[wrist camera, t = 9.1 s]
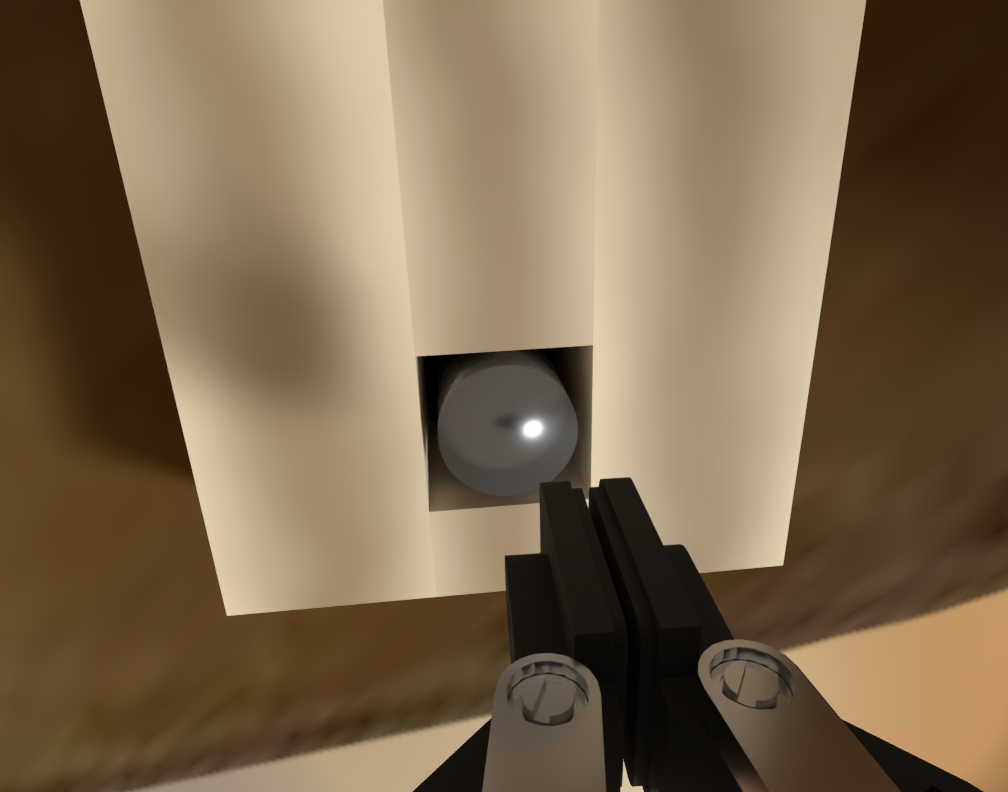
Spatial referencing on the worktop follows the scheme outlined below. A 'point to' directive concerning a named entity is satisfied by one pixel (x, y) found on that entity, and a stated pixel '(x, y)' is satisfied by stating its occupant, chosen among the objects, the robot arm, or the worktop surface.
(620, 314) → the maple block
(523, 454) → the peg
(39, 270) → the worktop surface
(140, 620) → the worktop surface
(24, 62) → the worktop surface
